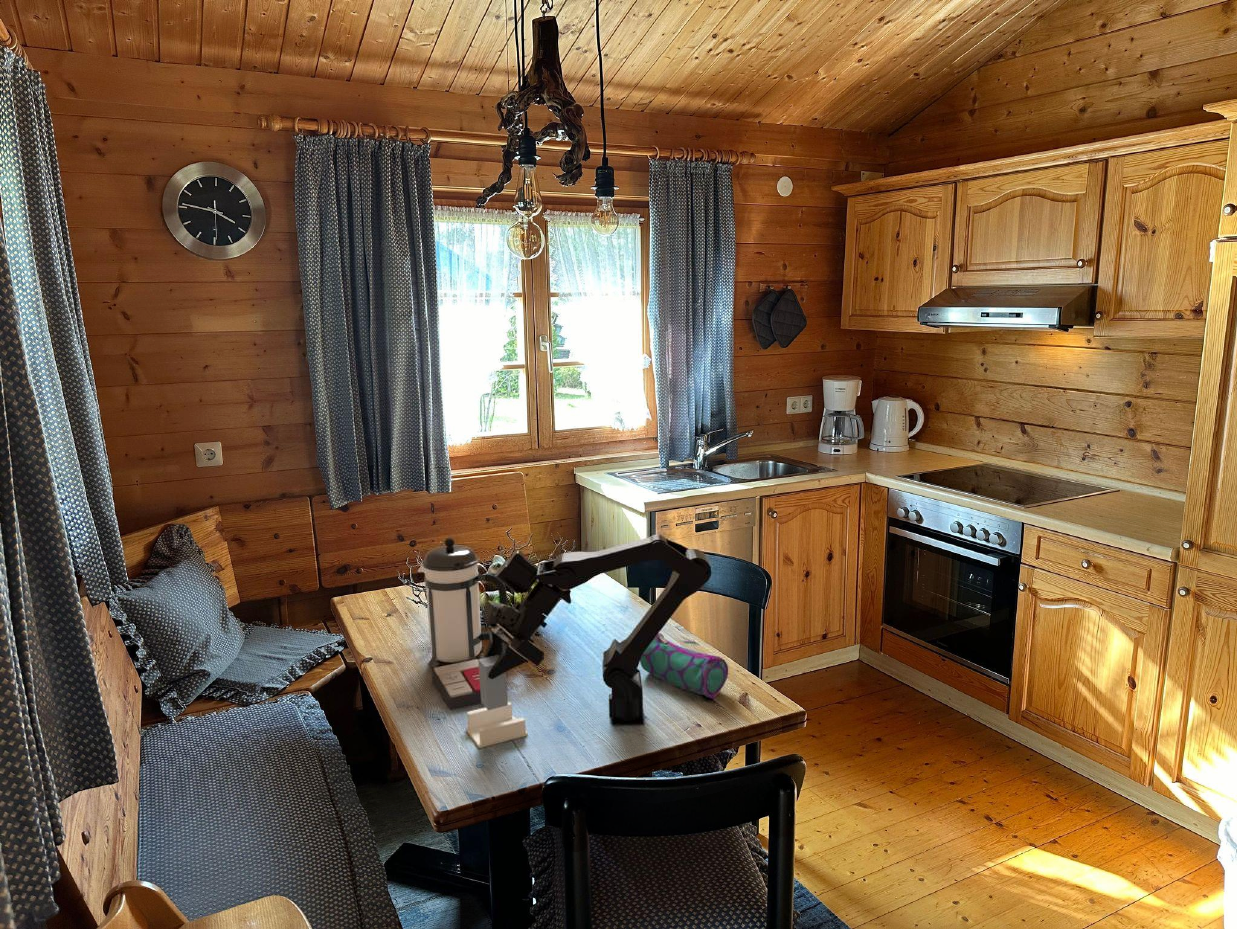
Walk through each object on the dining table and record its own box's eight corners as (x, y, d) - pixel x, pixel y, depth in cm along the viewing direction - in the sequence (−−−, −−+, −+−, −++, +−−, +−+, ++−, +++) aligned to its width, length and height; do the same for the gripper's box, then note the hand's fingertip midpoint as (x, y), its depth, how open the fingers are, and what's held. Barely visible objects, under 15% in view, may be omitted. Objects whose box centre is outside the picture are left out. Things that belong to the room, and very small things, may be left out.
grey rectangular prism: (500, 697, 174) (497, 654, 172) (507, 705, 171) (505, 662, 169) (481, 702, 172) (478, 659, 170) (488, 710, 169) (485, 666, 167)
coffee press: (448, 680, 198) (439, 552, 192) (413, 658, 209) (404, 537, 203) (511, 657, 209) (505, 536, 203) (475, 638, 221) (468, 523, 215)
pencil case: (634, 676, 198) (634, 635, 196) (661, 664, 204) (661, 625, 202) (704, 706, 183) (704, 663, 181) (731, 692, 189) (732, 650, 187)
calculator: (448, 696, 183) (431, 665, 196) (449, 714, 184) (432, 683, 197) (499, 685, 187) (478, 656, 200) (500, 703, 188) (479, 673, 202)
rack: (512, 717, 180) (511, 701, 179) (528, 736, 172) (527, 719, 171) (465, 729, 175) (464, 712, 175) (479, 749, 168) (478, 731, 167)
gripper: (489, 573, 177) (440, 636, 174) (525, 600, 160) (471, 670, 158) (528, 602, 182) (480, 664, 179) (566, 632, 166) (515, 700, 163)
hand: (485, 673), depth 169 cm, fingers closed on grey rectangular prism, 4 cm apart
